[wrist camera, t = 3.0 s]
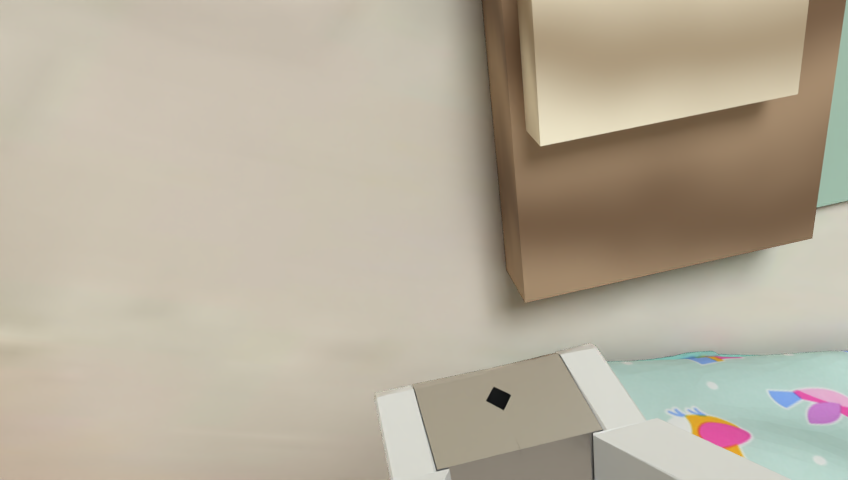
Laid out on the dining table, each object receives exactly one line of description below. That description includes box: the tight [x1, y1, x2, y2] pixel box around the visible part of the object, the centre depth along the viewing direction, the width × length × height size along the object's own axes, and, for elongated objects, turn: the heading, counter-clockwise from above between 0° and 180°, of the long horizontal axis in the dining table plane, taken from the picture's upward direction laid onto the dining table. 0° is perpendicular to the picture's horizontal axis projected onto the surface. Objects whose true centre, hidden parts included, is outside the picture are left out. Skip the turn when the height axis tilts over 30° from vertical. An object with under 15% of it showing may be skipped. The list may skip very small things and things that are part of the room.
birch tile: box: [517, 0, 809, 146], centre depth 24 cm, size 6×9×2 cm, turn 98°
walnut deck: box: [482, 0, 846, 303], centre depth 26 cm, size 20×12×2 cm, turn 8°
